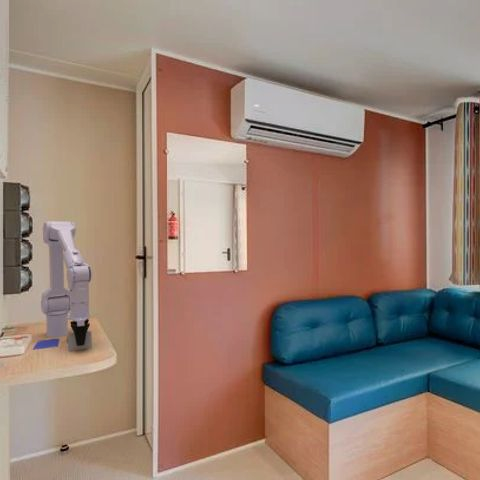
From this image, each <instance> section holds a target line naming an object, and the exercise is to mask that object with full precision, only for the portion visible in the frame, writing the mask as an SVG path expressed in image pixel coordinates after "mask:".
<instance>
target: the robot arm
mask: <svg viewBox="0 0 480 480" xmlns="http://www.w3.org/2000/svg"><path fill="white" fill-rule="evenodd" d="M76 229H77V227H76V224H75V223H74V221H61V220H60V221H57V220H56V221H55V220H53V221H52V220H51V221H49V220H46V221H45V222H44V223H43V226H42V235H43V236H42V238H43V243H44V244H46V245H48V251H49V252H48V255H49V258H48V259H49V287H48V289H46V290H45V291H44V292H43V293H42V295H41V301H40V310H41V312H42V313H43V314H44V315H45V317H46V318H45V319H46V320H45V321H46V324H45V325H46V337H47V338H57V337H59V338H60V337H63V336H68V333H69V322H68V321H69V320H71V321H70V328H71V330H72V333H73V332H74V334H75V339H76V344H77V346H81V345H84V344H85V339H86V333H87V331H89V327H90V325H91V324H90V323H89V321H90V319H89V318H91V314H90V294H89V293H90V287H89V285H90V284H89V283H90V282H91V280H92V275H93V274H92V269H91V266H90V265H89V264H88V263H86V262H85V260H84V257H83V255H82V253H81V251H80V250H79V249H77V248H76V244H75V241H74V238H75V235H76V231H77V230H76ZM64 264H65V267H66V280H67V287H68V288H66V287H65V279H64V278H65V277H64V275H65V273H64V272H65V271H64V269H65V268H64ZM69 313H70V315H69ZM68 315H69V316H68Z"/></svg>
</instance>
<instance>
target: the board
mask: <svg viewBox="0 0 480 480" xmlns="http://www.w3.org/2000/svg"><path fill="white" fill-rule="evenodd" d="M92 334H93V333H92V330H87V333H86V339H85V344H84V345H81V346H77V344H76V339H75V334H74V332H73V331H72V332H68V334H67V336H68V344H67V350H68V352H70V351H71V352H72V351H77V350H78V351H79V350H85V349H92V347H93V345H92V344H93V343H92V338H93V337H92V336H93V335H92Z"/></svg>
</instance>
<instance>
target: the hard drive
mask: <svg viewBox="0 0 480 480" xmlns="http://www.w3.org/2000/svg"><path fill="white" fill-rule="evenodd" d="M59 343H60V338H51V339H42V340H41V339H40V340H39V341H37V342H36V343H35V345H34V346H33V348H32V350H33V351H36V350H44V349H53V348H58V347H59Z"/></svg>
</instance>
